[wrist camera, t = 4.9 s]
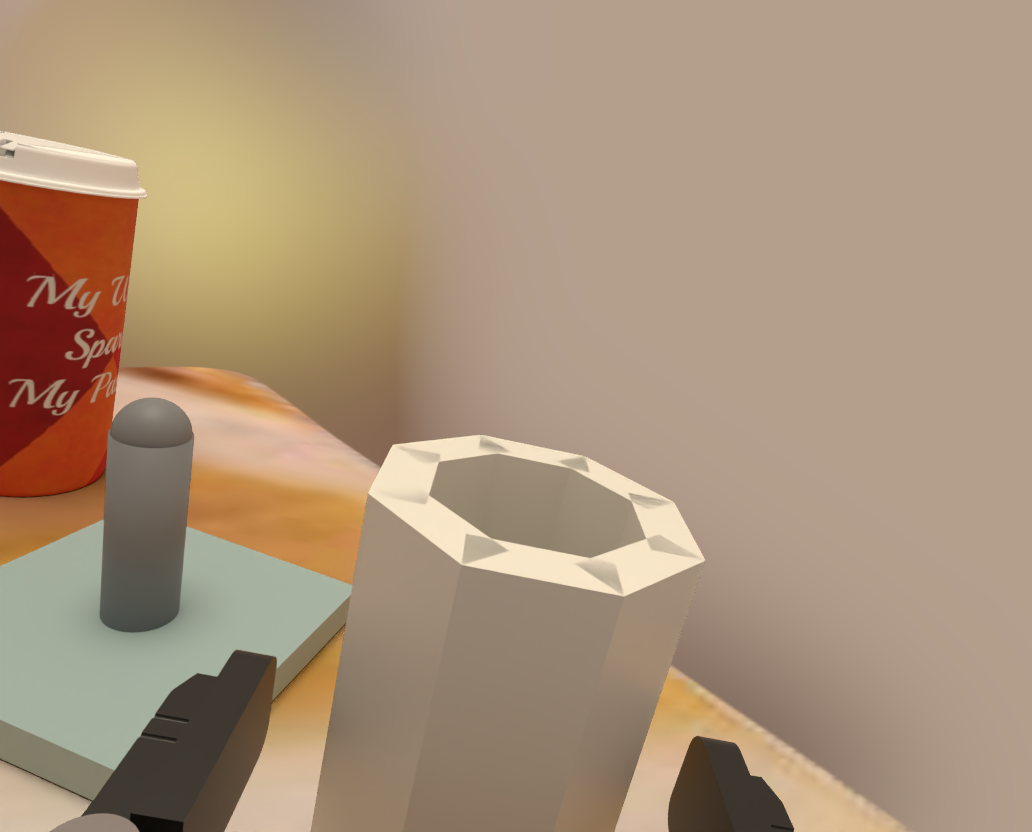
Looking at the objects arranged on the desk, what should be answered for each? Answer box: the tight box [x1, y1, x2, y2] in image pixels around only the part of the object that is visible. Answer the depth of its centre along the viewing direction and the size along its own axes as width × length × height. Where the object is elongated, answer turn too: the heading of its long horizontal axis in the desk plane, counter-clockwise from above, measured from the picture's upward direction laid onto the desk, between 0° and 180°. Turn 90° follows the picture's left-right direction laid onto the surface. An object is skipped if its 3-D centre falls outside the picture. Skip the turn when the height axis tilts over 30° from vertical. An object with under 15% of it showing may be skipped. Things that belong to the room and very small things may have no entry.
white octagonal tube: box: [311, 435, 705, 832], centre depth 13 cm, size 5×5×11 cm
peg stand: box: [0, 398, 352, 801], centre depth 21 cm, size 10×10×8 cm
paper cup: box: [0, 131, 147, 497], centre depth 29 cm, size 8×8×14 cm
